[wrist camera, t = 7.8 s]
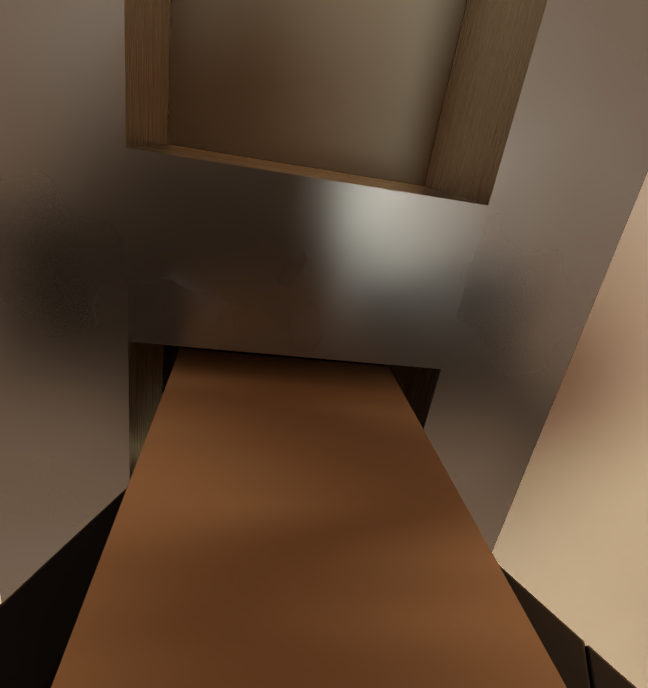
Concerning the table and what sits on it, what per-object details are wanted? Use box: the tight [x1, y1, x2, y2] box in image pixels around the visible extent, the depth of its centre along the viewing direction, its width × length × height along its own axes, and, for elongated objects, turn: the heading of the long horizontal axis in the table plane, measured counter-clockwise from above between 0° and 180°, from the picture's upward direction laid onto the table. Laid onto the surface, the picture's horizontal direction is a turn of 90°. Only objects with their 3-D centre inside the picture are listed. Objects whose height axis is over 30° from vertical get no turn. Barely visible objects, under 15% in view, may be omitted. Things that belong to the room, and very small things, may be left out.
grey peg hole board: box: [0, 0, 648, 602], centre depth 10 cm, size 10×28×3 cm, turn 171°
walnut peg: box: [51, 348, 567, 688], centre depth 6 cm, size 4×4×8 cm
